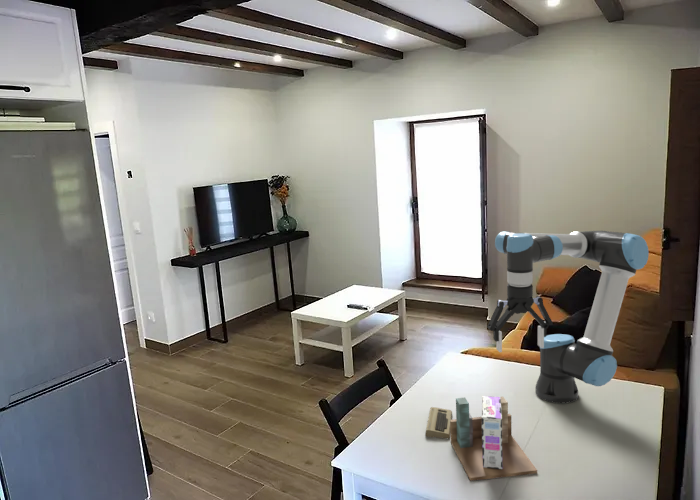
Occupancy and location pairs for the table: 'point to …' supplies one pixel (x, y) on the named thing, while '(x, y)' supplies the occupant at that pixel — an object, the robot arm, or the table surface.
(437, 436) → the computer
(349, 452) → the table surface
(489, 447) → the candy box
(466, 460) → the shelf
